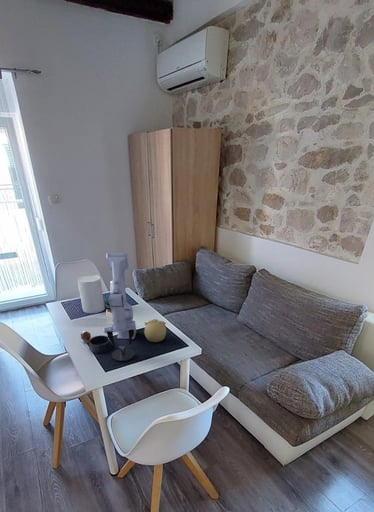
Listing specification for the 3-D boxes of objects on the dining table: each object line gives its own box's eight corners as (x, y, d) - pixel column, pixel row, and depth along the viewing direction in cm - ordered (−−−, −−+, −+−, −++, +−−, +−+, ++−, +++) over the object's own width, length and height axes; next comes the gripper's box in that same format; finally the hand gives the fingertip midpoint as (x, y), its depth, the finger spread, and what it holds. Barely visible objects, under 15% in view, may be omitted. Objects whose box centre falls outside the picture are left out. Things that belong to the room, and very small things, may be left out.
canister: (101, 313, 193) (97, 282, 182) (80, 313, 193) (74, 281, 182) (106, 304, 205) (102, 275, 194) (86, 304, 205) (81, 274, 194)
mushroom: (92, 339, 166) (91, 329, 163) (90, 344, 162) (88, 334, 158) (83, 339, 166) (81, 329, 163) (80, 344, 162) (78, 333, 159)
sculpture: (166, 333, 173) (166, 316, 167) (165, 344, 163) (165, 326, 157) (146, 333, 172) (144, 315, 167) (144, 344, 162) (142, 326, 157)
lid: (134, 349, 158) (133, 340, 155) (135, 361, 149) (134, 352, 146) (112, 351, 156) (110, 342, 154) (111, 363, 147) (110, 354, 145)
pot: (112, 343, 163) (111, 335, 160) (108, 353, 154) (107, 345, 152) (93, 342, 163) (92, 335, 161) (88, 353, 155) (86, 345, 152)
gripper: (102, 324, 137) (106, 350, 145) (135, 321, 140) (137, 347, 147) (102, 317, 143) (106, 342, 150) (134, 314, 146) (136, 340, 153)
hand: (122, 344), depth 149 cm, fingers open, 7 cm apart
